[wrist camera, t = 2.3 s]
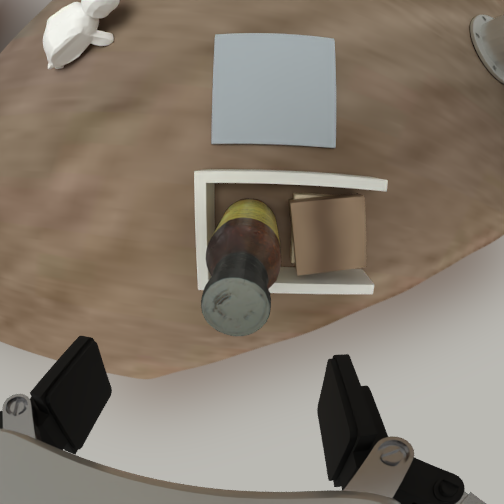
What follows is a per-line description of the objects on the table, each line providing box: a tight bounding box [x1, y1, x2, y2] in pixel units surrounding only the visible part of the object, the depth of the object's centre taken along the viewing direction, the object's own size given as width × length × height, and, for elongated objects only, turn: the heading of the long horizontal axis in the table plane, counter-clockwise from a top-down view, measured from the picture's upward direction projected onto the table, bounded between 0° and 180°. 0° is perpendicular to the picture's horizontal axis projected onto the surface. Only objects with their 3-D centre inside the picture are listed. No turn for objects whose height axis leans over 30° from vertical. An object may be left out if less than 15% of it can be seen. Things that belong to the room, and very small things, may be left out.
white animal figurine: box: [43, 0, 120, 69], centre depth 24 cm, size 9×8×15 cm
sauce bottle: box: [201, 199, 281, 336], centre depth 26 cm, size 7×6×20 cm
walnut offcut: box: [289, 193, 366, 276], centre depth 32 cm, size 8×8×2 cm
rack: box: [194, 169, 388, 294], centre depth 33 cm, size 20×13×5 cm, turn 89°
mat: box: [211, 33, 336, 148], centre depth 29 cm, size 14×14×1 cm
